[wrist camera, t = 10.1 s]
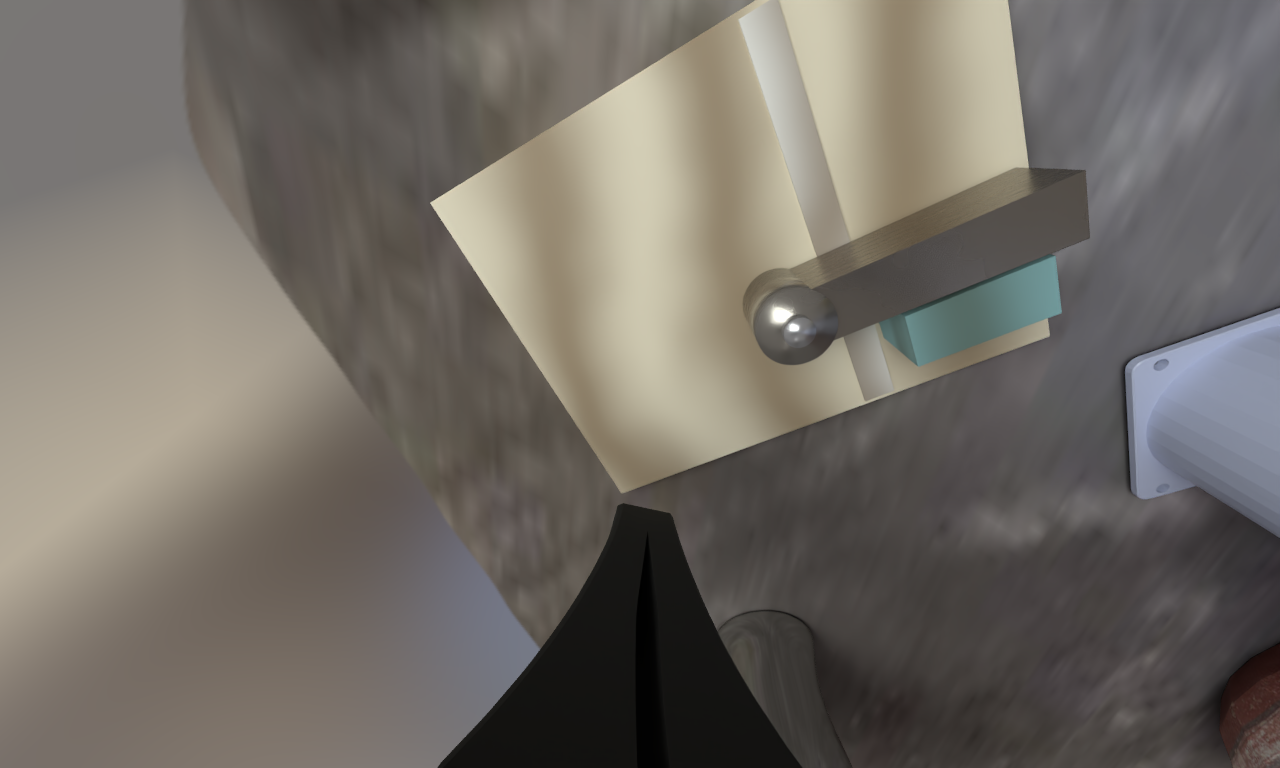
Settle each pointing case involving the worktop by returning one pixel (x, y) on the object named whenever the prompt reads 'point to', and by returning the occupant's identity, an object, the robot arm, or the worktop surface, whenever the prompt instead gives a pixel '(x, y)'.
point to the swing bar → (916, 260)
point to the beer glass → (785, 683)
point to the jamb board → (750, 221)
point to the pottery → (1253, 712)
